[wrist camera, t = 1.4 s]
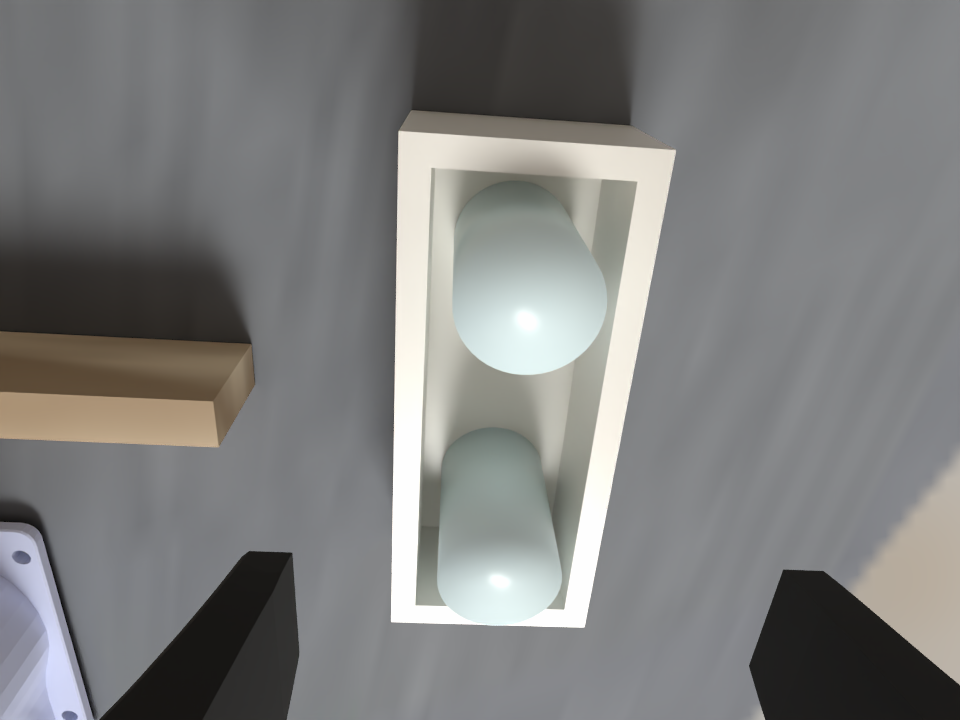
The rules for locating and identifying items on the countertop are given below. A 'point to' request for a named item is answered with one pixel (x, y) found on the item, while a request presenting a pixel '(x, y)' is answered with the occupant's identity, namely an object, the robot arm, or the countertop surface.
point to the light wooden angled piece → (121, 389)
